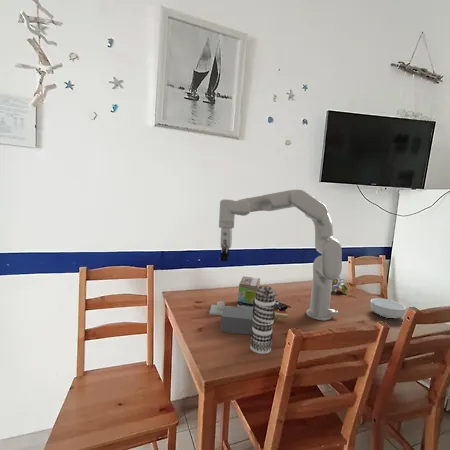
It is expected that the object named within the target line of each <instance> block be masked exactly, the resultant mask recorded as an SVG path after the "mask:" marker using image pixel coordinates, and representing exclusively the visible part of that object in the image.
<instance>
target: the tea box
mask: <svg viewBox="0 0 450 450" xmlns="http://www.w3.org/2000/svg"><path fill="white" fill-rule="evenodd" d="M238 285H239V286H238V295H237V301H236V302H237V305H236V307H238V308H248V309H253V305H254V304H253V300H254V299H255V297H256V292H255V290H256V289H258V288H259V287H260V286H261V278H258V277H252V276H245V275H244V276H242V278H241V280H240V282H239V284H238Z"/></svg>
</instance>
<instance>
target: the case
mask: <svg viewBox="0 0 450 450" xmlns="http://www.w3.org/2000/svg"><path fill="white" fill-rule="evenodd" d="M254 312H255V311H254ZM252 315H253V309H248V308H238V307H237V306H231V307H228V305H225V306H224V309H223V314H222V315H221V321H220V332H222V333H232V334H239V335H240V334H241V335H250V336H251V330H252V326H253V319H252V318H253V316H252Z"/></svg>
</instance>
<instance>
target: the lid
mask: <svg viewBox="0 0 450 450" xmlns="http://www.w3.org/2000/svg"><path fill="white" fill-rule="evenodd" d="M225 303H226V302H225V301H221V300H220V301H217V302H216V304H211V306H210V309H209V315H214V316H222V314H223V309H224V306H226V305H225ZM227 306H228V305H227ZM228 307H232V306H230V305H229V306H228Z"/></svg>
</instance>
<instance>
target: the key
mask: <svg viewBox="0 0 450 450" xmlns="http://www.w3.org/2000/svg"><path fill="white" fill-rule="evenodd" d="M273 312H274V313H275V315H274V319H273V320H274V322H279V319H285V320H288V318H289V314H288V313H282V312H275V311H273Z"/></svg>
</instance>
